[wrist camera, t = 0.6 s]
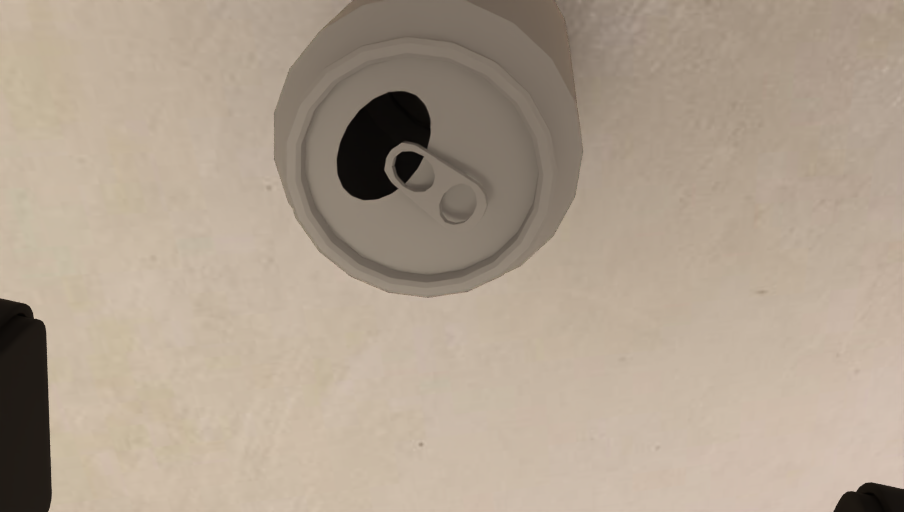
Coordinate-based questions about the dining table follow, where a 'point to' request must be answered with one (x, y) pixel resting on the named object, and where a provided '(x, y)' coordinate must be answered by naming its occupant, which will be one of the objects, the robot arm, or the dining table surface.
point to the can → (431, 140)
